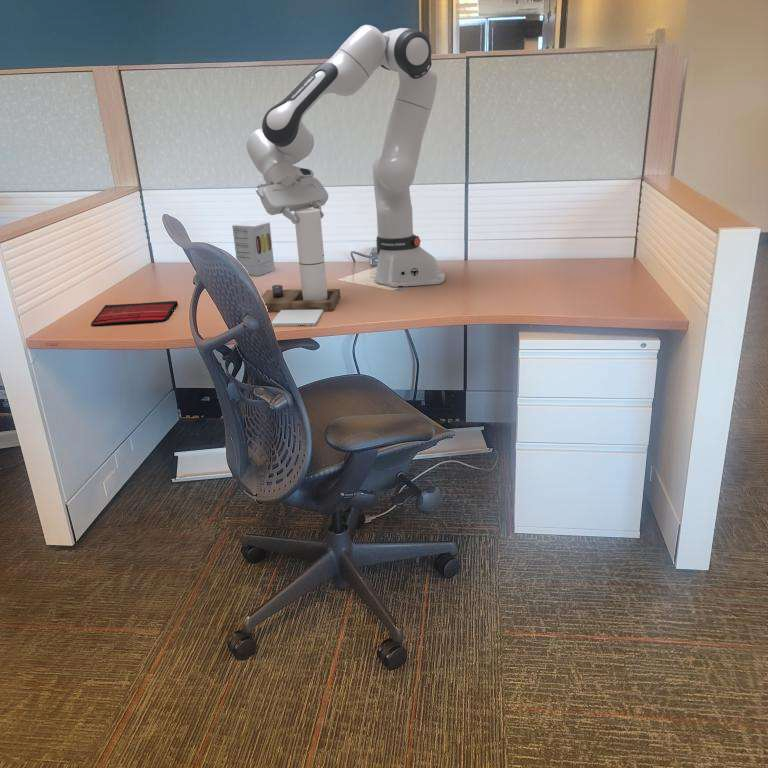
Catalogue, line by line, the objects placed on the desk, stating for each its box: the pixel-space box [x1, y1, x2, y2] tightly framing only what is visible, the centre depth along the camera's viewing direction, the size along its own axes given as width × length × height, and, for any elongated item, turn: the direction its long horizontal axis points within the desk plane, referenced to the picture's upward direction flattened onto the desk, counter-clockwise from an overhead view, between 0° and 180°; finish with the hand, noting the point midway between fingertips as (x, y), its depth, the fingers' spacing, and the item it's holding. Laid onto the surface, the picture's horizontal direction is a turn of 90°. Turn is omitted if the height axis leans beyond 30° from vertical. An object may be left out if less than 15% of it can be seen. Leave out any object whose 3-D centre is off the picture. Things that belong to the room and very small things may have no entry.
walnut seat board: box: [261, 284, 341, 313], centre depth 195 cm, size 22×14×6 cm, turn 85°
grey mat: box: [271, 309, 325, 327], centre depth 182 cm, size 12×12×1 cm
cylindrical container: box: [293, 207, 328, 301], centre depth 190 cm, size 7×7×25 cm
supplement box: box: [231, 220, 276, 277], centre depth 231 cm, size 10×9×17 cm
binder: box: [90, 300, 179, 327], centre depth 192 cm, size 16×2×21 cm
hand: (309, 219), depth 185 cm, fingers closed on cylindrical container, 7 cm apart
